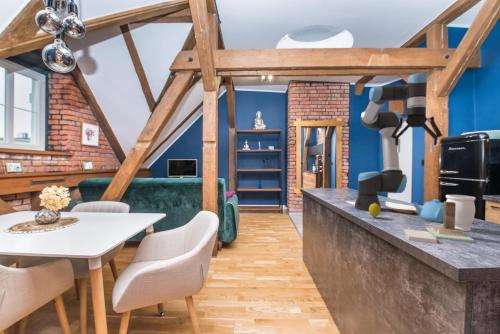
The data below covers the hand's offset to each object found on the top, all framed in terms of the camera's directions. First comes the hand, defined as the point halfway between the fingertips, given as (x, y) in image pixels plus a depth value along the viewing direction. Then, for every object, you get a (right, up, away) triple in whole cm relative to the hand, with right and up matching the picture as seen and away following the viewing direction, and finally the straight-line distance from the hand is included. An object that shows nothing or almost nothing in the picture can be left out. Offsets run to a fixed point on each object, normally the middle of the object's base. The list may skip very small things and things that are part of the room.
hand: (414, 152), depth 119 cm
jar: (+16, -35, -6) cm, 39 cm away
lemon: (-12, -34, +15) cm, 39 cm away
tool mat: (+4, -35, -16) cm, 39 cm away
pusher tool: (+4, -35, -16) cm, 38 cm away
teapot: (+18, -35, +11) cm, 41 cm away
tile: (-9, -35, -14) cm, 38 cm away
